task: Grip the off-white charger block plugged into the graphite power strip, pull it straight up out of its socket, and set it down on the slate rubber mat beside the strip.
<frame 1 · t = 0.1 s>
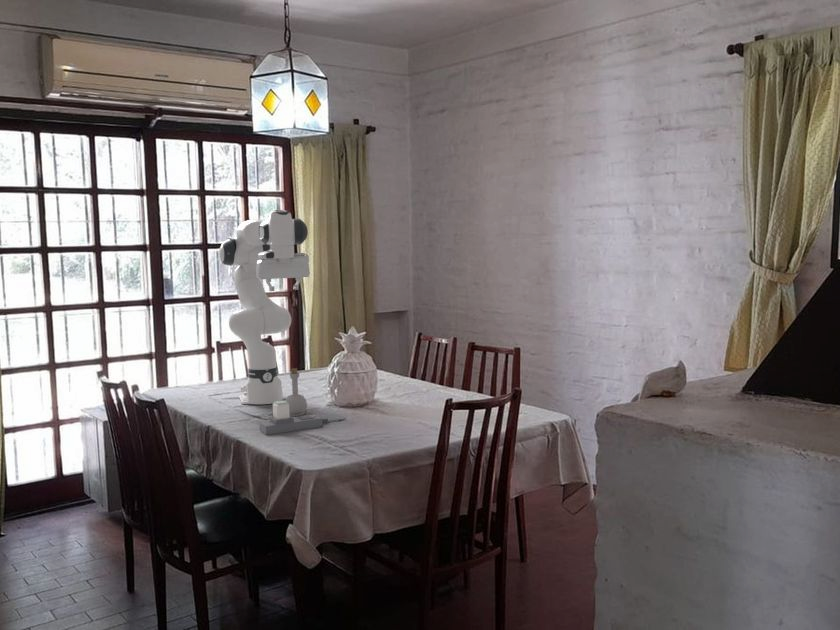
hand: (284, 290, 297), 48 cm above the table, tool pointing down, fingers open, 8 cm apart
charger: (281, 421, 279), point 3 cm above the table, touching power strip
potion bottle: (296, 414, 304), on the table
power strip: (291, 428, 281), on the table
mat: (328, 418, 294), on the table
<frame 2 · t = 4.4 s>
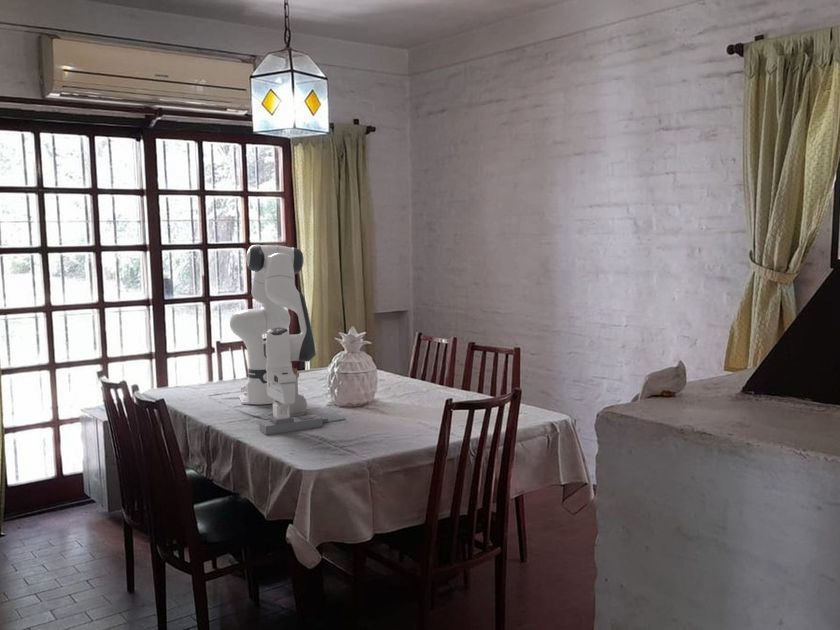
hand: (281, 412, 279), 6 cm above the table, tool pointing down, fingers closed on charger, 4 cm apart
charger: (281, 421, 279), point 3 cm above the table, touching gripper, power strip
everything else where it was.
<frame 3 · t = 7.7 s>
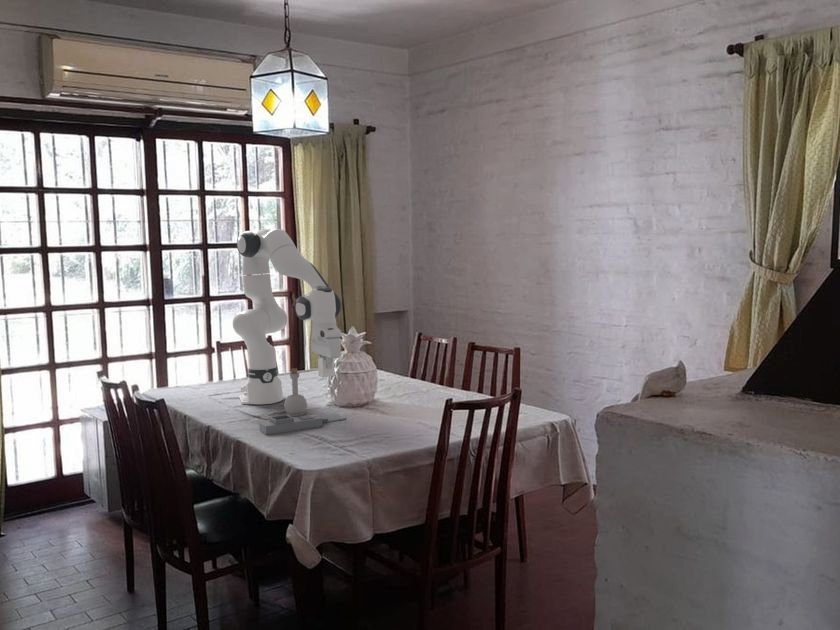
hand: (326, 367, 292), 19 cm above the table, tool pointing down, fingers closed on charger, 4 cm apart
charger: (326, 375, 293), point 16 cm above the table, touching gripper
everything else where it was.
when the fingers open (5 cm above the table, at t = 11.1 s): charger stays where it is, resting on mat.
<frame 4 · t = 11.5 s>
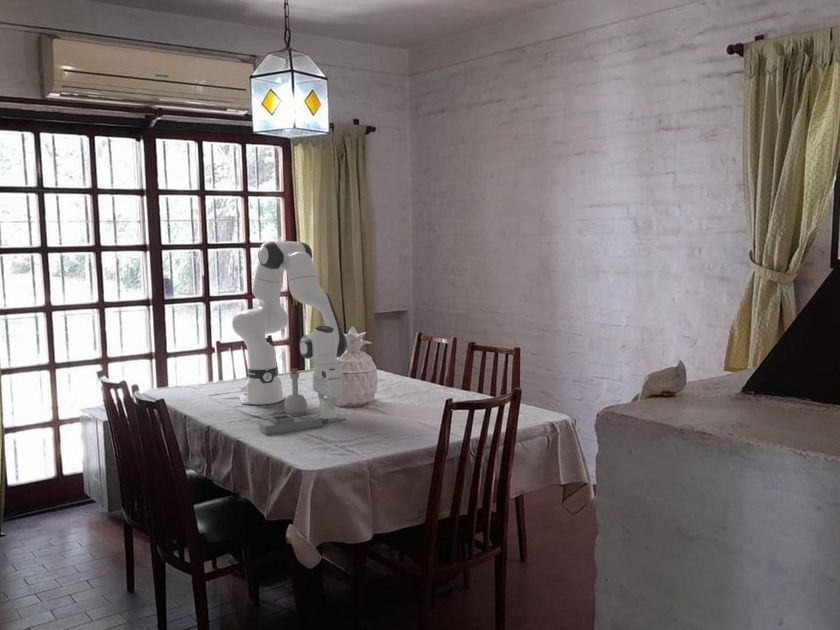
hand: (327, 406, 294), 5 cm above the table, tool pointing down, fingers open, 8 cm apart
charger: (327, 417, 294), point 1 cm above the table, touching mat
everything else where it was.
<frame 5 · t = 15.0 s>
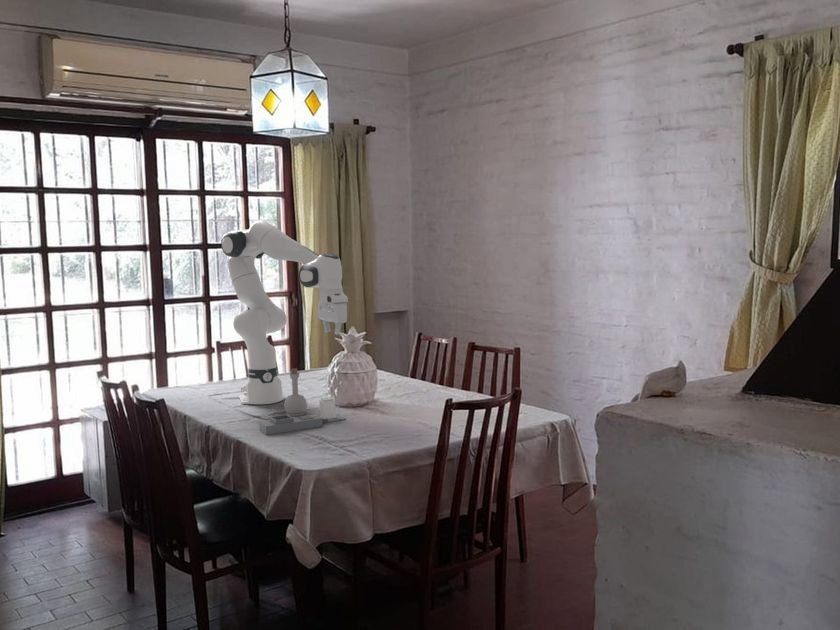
hand: (332, 333, 300), 31 cm above the table, tool pointing down, fingers open, 8 cm apart
nothing on the table moved.
at the end: charger inside the target area on the mat (0.1 cm from its centre), point 0.6 cm above the mat's base; charger tilted 0°; charger touching mat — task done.
